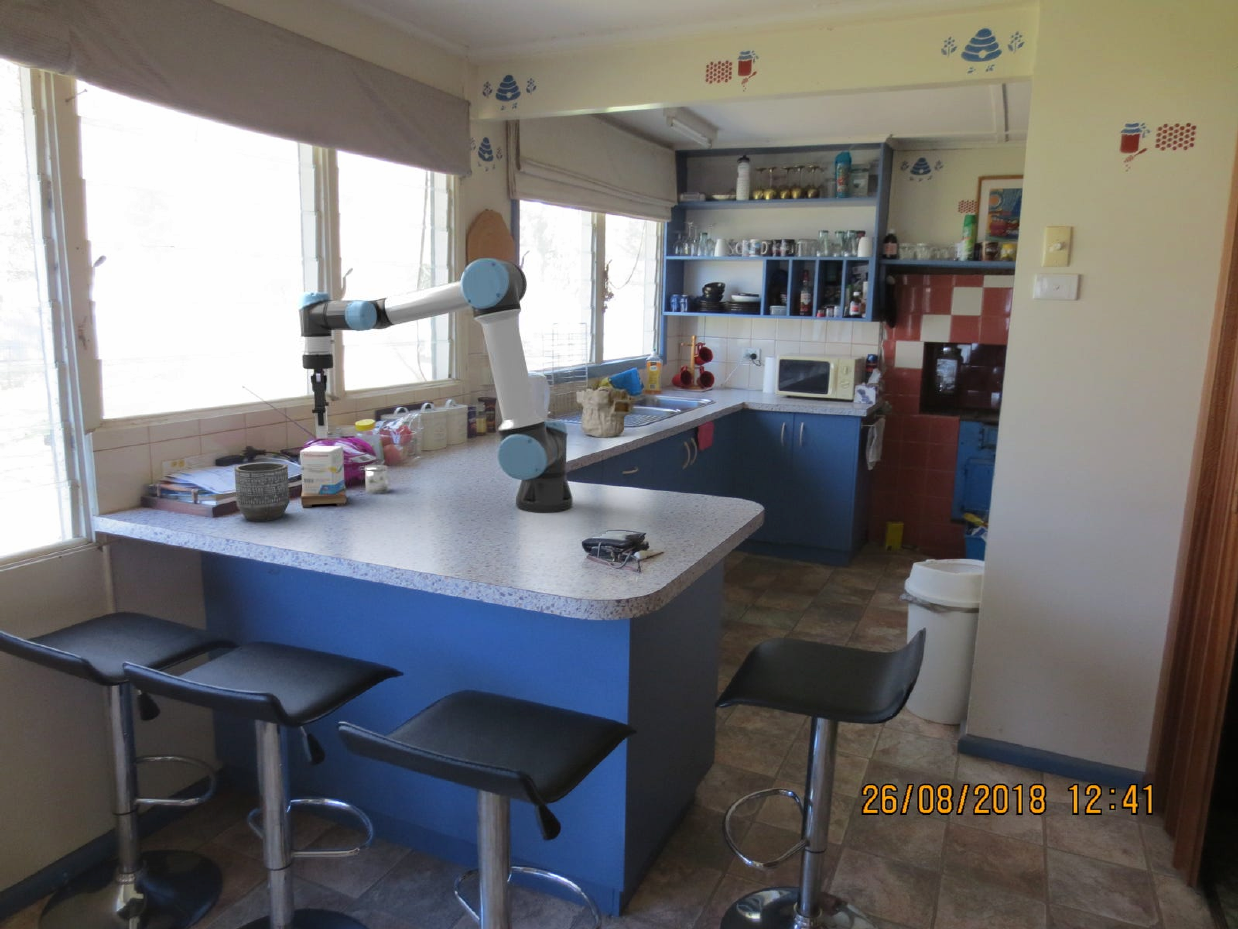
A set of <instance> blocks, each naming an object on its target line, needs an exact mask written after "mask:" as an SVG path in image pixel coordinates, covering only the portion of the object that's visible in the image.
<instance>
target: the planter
mask: <svg viewBox="0 0 1238 929" xmlns="http://www.w3.org/2000/svg"><path fill="white" fill-rule="evenodd" d="M288 467H289V466H288V464H287V463H284V462H276V461H275V462H273V461H266V462H265V461H261V462H249V463H244V464H240V465H236V466H234V482H235V483H234V486H235V500H236V501H235V502H236V507H237V509H238V510H239V511H240V513H241V514H242V515H243V516H244V517H245V519H246V520H247V521H251V520H252V521H254V522H264V521H265V522H266V521H273V520H277V519H280V518H282V517H283V515H284V514H285V512H286V510H287V508H288V506H289V504H290V489H289V486H290V484H289V481H290V480H289V470H288V469H289V468H288ZM252 521H251V522H252Z"/></svg>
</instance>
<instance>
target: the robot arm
mask: <svg viewBox="0 0 1238 929" xmlns="http://www.w3.org/2000/svg"><path fill="white" fill-rule="evenodd" d="M527 284H528V283H527V277H526V274H525V273H524V271H523V269H522V268H521V267H520V266H519V265H517V264H516V263H514V262H512V261H509V260H505V259H503V260H502V259H496V258H494V257H487V258H478V259H476V260H474V261H472V262H470V263H469V264H467V266H466V267H465V269H464V271H463V272H462V274H461V278H460V280H457V281H452V282H448V283H443V284H440V285H434V286H430V287H427V288H421V289H418V290H414V291H408V292H405V293H400V294H397V295H396V294H395V295H392V296H388V297H383V298H379V299H374V300H362V299H359V300H358V299H354V300H353V299H352V300H346V299H345V300H331V298H330V294H329V293H328V292H301V293H300V294H299V296H298V313H299V323H300V324H299V325H300V346H301V347H300V348H301V352H302V353H304V354H302V356H301V360H302V368H304V369H305V370H313V373H312V375H310V383H311V388H312V392H313V395H314V397H313V398H314V409H311V414H314V421H315V422H314V423H315V424H314V425H315V435H316V436H315V437H316V439H318V440H319V439H328V438H329V437H328V431H329V425H328V408H327V407H329V406H330V402H327V399H326V391H327V383H328V375H326V374H325V370H329V369H333V368H334V355H333V354H332V353H331V352H332V351H333V344H335V340H334V339H332V331H356V332H363V331H364V332H365V331H370V330H384V329H387V328H391V327H393V326H396V325H401V324H404V323H409V322H414V321H415V322H416V321H419V320H424V319H429V318H432V317H437V316H441V315H446V314H451V313H456V312H461V311H464V310H465V311H466V310H470V309H471V311H472V315H473V319H474V321H476V322H478V323H479V324H480V325H481V327H482V331H483V336H484V341H485V345H486V350H487V355H488V358H489V364H490V369H491V373H492V377H493V378H492V379H493V383H494V387H495V392H496V398H497V401H498V407H499V410H500V415H501V419H502V422H501V423H500V426H499V427H498V429H497V430H498V435H499V438H500V444H499V446H498V449H497V453H496V454H497V460H498V464H499V466H500V468H501V470H502V471H503V472H504V473H505V474H506V475H508V476H509V477H511V478H512V479H515V480H519V481H520V480H521V481H520V484H519V487H518V491H517V494H516V497H515V507H516V508H517V509H519V510H523V511H525V512H532V513H533V512H535V513H552V512H553V513H555V512H561V510H562V511H566V510H569V509H571V508H572V507H573V506H572V505H574V504H573V503H574V502H573V499H574V498H573V495H572V492H571V489H570V484H569V482H568V479H567V439H568V438H567V437H568V432H567V431H568V430H567V425H566V423H565V422H563V421H552V420H545V419H544V418H543V417H541V416H540V415H538V414H537V409H536V406H535V405H536V404H535V399H534V396H533V389H532V385H531V381H530V376H529V372H528V367H527V361H526V357H525V353H524V349H523V342H522V338H521V334H520V333H521V332H520V328H519V324H518V316H519V315H520V313H521V312H522V307H521V303H520V301H521V300H523V298H524V296H525V294H526V291H527V288H528V287H527V286H528V285H527ZM324 369H325V370H324ZM570 507H571V508H570ZM568 508H569V509H568Z"/></svg>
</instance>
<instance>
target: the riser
mask: <svg viewBox="0 0 1238 929" xmlns="http://www.w3.org/2000/svg"><path fill="white" fill-rule="evenodd" d="M346 494H347V493H346V487H345V488H344V489H342V490H341V491H339V492H337V493H335V494H303V488H302V490H301V495H300V500H301V502H300V503H301V505H302V508H312V505H327V504H336V506H337V507H340V506H342V505H343V506H346V503H347V495H346Z"/></svg>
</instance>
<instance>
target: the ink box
mask: <svg viewBox="0 0 1238 929" xmlns="http://www.w3.org/2000/svg"><path fill="white" fill-rule="evenodd" d="M299 458H300V470H301V483H302V484H301V486H302V489H303V494H335V493H337V492H339V491H341V490H342V489H344V488H345V489H346V485H345V465H344V464H345V461H344V460H345V459H344V447H343V446H335V445H334V446H333V445H311V446H309V447H305V448H304V449H302V450H300V451H299Z"/></svg>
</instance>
